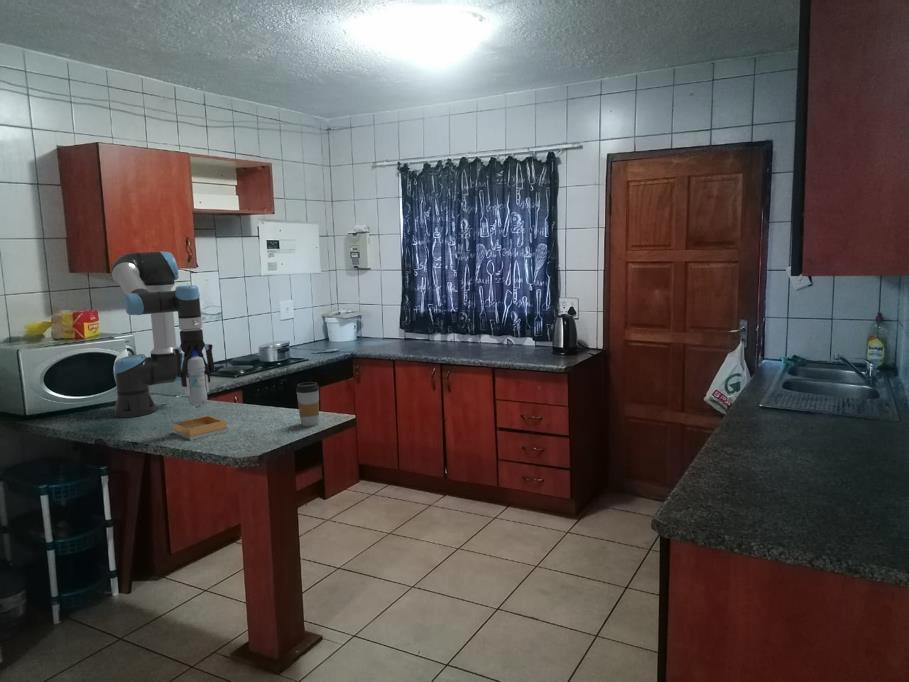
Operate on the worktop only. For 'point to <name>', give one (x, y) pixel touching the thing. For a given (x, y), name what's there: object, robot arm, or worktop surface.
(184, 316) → the robot arm
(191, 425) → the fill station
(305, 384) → the coffee cup
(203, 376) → the bottle
